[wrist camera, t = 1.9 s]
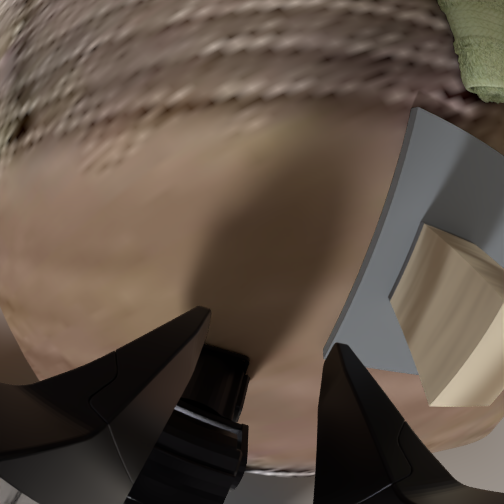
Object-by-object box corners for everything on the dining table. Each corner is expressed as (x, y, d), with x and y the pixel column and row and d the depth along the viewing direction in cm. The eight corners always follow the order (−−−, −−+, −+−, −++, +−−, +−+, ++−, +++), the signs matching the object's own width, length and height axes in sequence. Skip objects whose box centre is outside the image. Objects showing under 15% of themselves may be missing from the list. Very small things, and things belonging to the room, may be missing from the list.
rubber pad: (323, 349, 23) (323, 358, 22) (411, 108, 15) (418, 106, 14) (488, 374, 22) (492, 380, 21) (570, 215, 14) (577, 219, 12)
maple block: (387, 297, 19) (429, 406, 10) (420, 220, 16) (504, 300, 7) (438, 310, 19) (489, 405, 10) (471, 241, 16) (553, 318, 7)
